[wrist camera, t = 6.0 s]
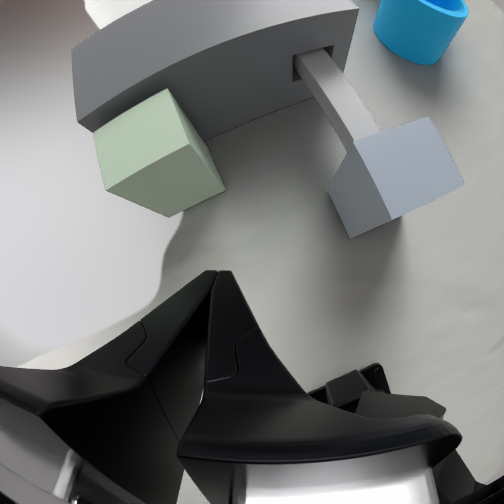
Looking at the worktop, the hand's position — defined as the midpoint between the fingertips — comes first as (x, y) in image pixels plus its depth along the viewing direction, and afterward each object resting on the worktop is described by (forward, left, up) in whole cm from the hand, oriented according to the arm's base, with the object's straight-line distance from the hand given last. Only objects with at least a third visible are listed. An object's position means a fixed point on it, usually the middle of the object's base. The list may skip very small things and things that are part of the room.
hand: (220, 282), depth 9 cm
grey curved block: (+16, -4, -12) cm, 20 cm away
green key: (+14, +2, -12) cm, 18 cm away
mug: (+17, -27, -13) cm, 34 cm away
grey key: (+8, -10, -12) cm, 17 cm away
